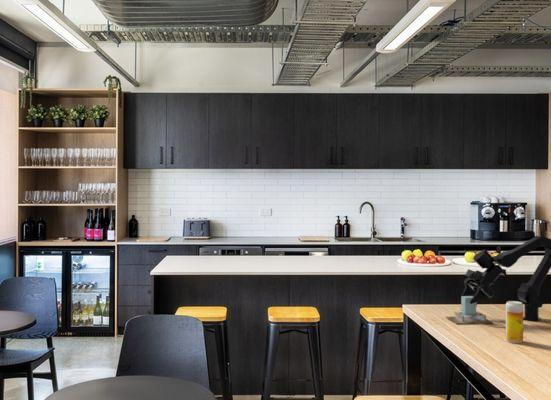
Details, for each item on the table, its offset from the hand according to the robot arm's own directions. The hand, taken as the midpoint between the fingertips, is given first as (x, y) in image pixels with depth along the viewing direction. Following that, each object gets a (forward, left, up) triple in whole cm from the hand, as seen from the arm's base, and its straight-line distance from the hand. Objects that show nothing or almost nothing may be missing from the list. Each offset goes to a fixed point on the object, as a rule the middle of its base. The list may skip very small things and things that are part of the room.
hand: (465, 301), depth 234 cm
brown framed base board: (-1, +1, -9) cm, 9 cm away
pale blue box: (-1, +1, -8) cm, 8 cm away
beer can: (+21, +26, -9) cm, 35 cm away
